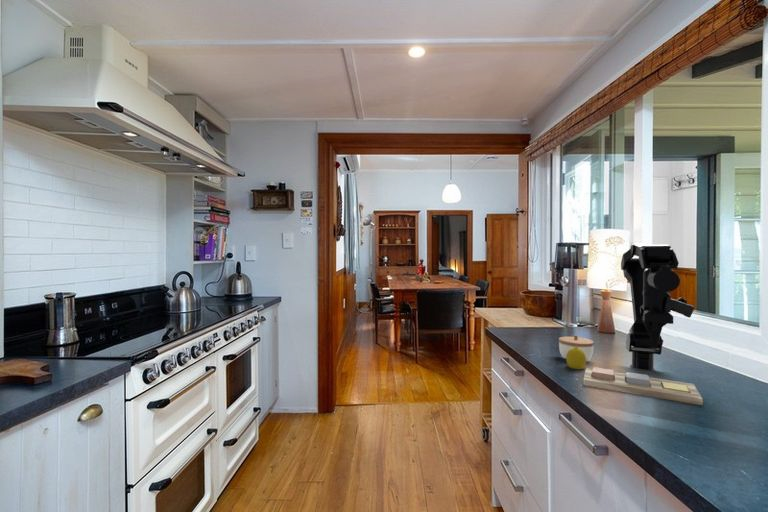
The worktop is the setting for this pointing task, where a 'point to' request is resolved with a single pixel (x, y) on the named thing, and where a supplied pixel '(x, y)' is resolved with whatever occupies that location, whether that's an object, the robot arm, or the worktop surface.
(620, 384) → the button board
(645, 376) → the grey button
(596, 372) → the clay button
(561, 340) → the lidded jar
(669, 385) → the yellow button
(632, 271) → the robot arm
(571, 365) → the lemon
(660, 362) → the worktop surface
